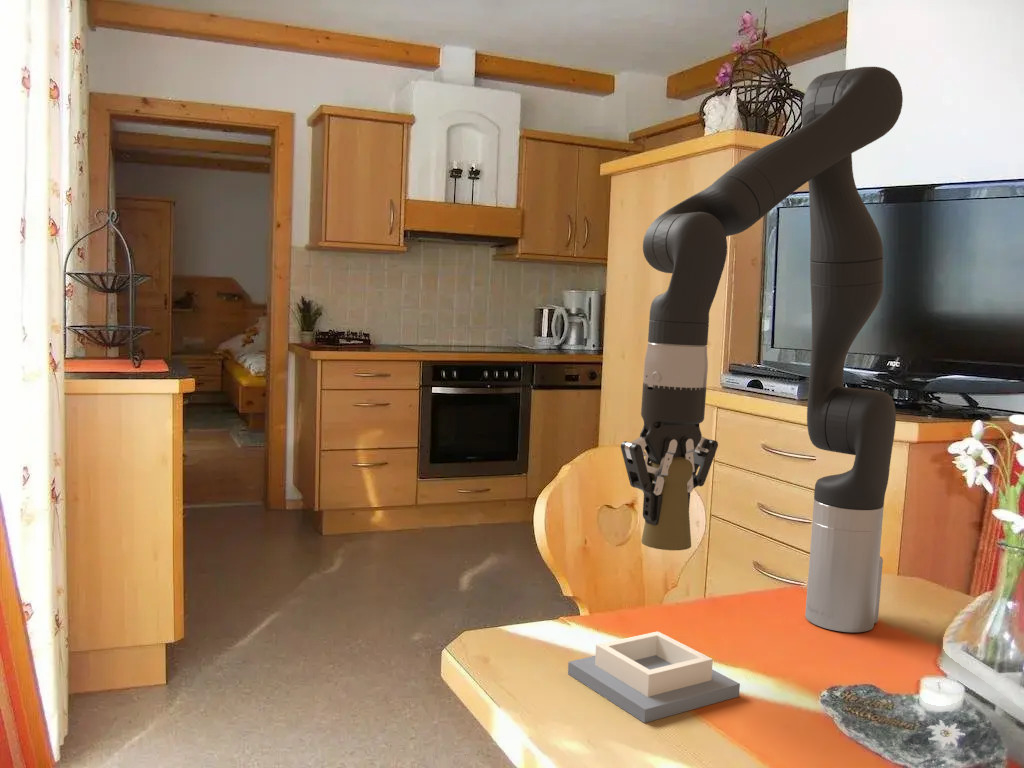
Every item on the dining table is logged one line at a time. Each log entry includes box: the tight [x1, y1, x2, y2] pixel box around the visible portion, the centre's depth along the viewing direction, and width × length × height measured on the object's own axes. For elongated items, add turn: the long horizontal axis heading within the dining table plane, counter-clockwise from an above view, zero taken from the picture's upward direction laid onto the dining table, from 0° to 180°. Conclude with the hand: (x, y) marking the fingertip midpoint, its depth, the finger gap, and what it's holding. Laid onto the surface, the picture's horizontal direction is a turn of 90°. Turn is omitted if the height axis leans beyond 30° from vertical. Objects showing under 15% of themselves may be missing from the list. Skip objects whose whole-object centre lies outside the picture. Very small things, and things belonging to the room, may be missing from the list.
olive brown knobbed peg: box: [641, 457, 693, 551], centre depth 113 cm, size 6×6×11 cm
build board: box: [567, 631, 741, 724], centre depth 108 cm, size 14×14×4 cm
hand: (665, 521), depth 113 cm, fingers closed on olive brown knobbed peg, 3 cm apart
